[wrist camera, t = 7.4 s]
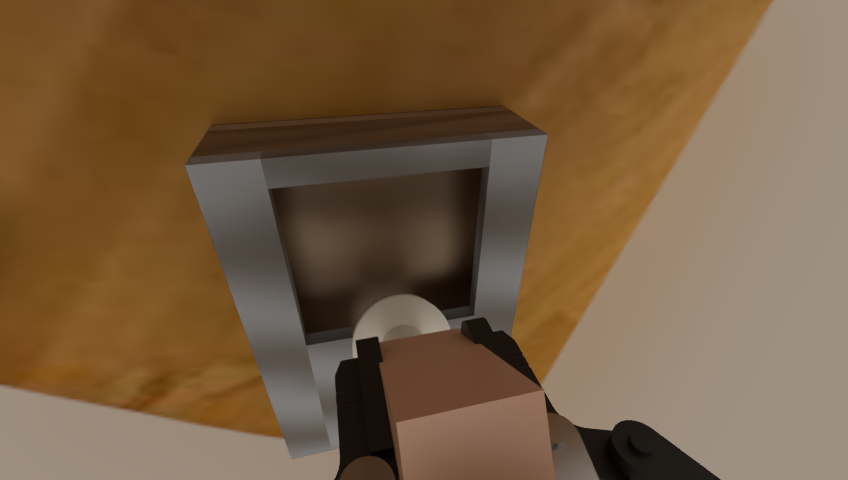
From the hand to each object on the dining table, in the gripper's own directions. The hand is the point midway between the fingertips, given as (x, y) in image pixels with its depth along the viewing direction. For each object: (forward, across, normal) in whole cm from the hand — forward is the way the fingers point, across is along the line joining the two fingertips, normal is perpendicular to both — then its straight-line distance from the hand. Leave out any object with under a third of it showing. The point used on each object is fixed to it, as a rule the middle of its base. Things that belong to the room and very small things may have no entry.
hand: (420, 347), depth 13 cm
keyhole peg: (+4, 0, +4) cm, 6 cm away
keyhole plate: (+11, 0, +5) cm, 12 cm away
